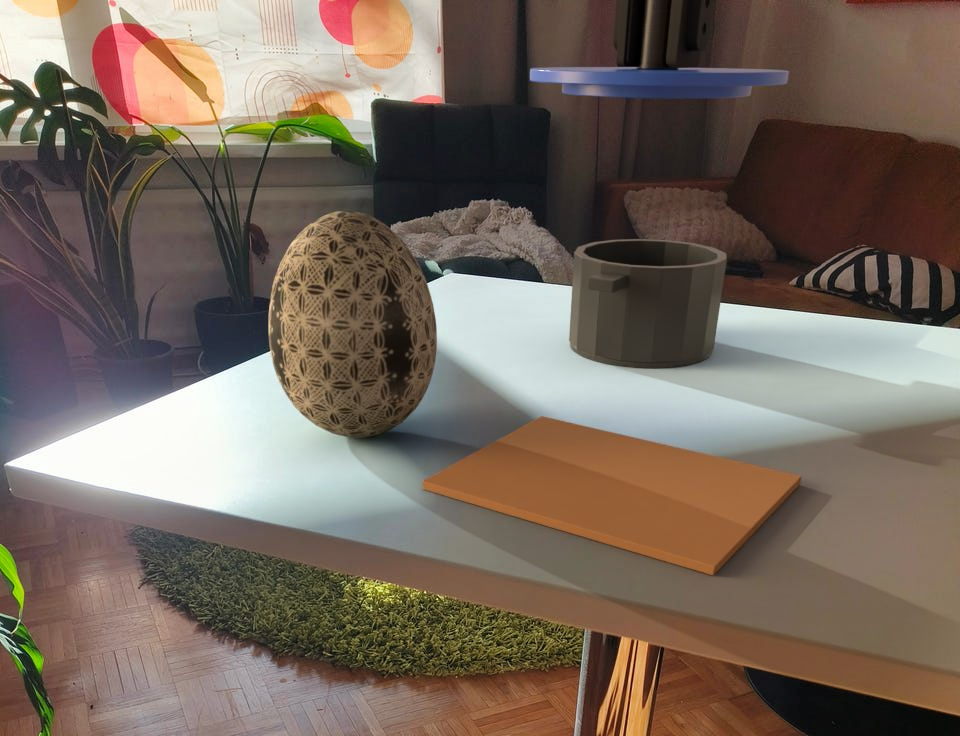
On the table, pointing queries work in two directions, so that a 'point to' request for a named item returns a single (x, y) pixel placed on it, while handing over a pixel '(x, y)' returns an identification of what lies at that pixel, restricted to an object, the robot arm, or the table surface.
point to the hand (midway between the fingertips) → (657, 63)
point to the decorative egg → (352, 326)
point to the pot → (646, 302)
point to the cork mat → (620, 491)
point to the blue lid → (657, 70)
